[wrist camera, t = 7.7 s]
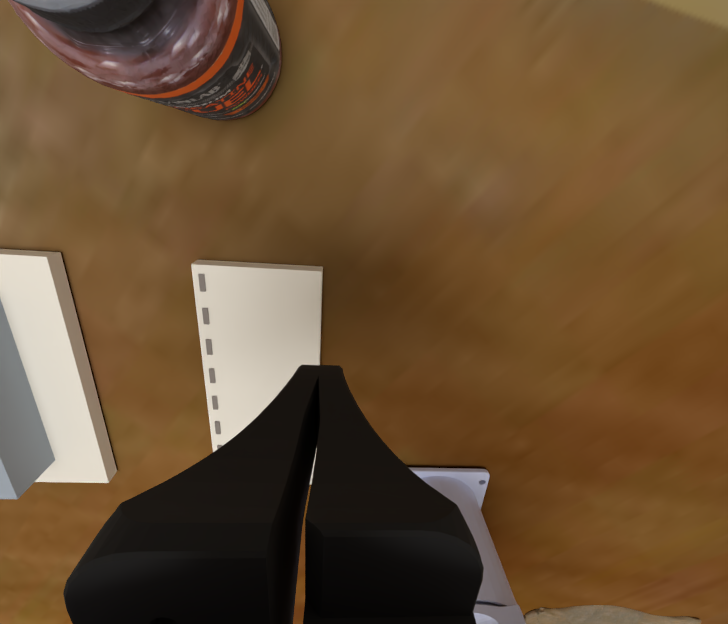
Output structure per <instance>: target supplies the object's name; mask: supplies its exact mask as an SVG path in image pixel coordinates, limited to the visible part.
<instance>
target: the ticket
mask: <svg viewBox="0 0 728 624" xmlns="http://www.w3.org/2000/svg"><path fill="white" fill-rule="evenodd" d="M191 267H192V276H193V284H194V293H195V301H196V310H197V318H198V327H199V336H200V344H201V353H202V361H203V370H204V378H205V387H206V395H207V404H208V412H209V421H210V430H211V438H212V447H213V452H214V451H216V450H217V449H219V448H220V447H221V446H223V445H224V444H226V443H227V442H228V441H230V440H231V439H232V438H234V437H235V436H236V435H237V434H238V433H240V432H241V431H242V430H243V429H244V428H245V427H247V426H248V425H249V424H250V423H251V422H252V421H253V420H254V419H255V418H256V417H257V416H258V415H259V414H260V413H261V412H262V411H263V410H264V409H265V408H266V407H267V406H268V405H269V404H270V403H271V402H272V401H273V400H274V398H275V397H276V396H277V395H278V394H279V392H280V391H281V390H282V389H283V388H284V387H285V385H286V384H287V383H288V381H289V380H290V379H291V377H292V376H293V375H294V373H295V372H296V370H297V369H298V367H299V366H301V365H320V350H321V315H322V280H323V267H322V266H304V265H286V264H269V263H251V262H233V261H216V260H197V261H195V262H194V263H192V264H191ZM316 450H317V448H316ZM315 458H316V454H315ZM314 465H315V459H314V464H313V469H312V474H311V480H310V484H312V478H313V471H314Z"/></svg>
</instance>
